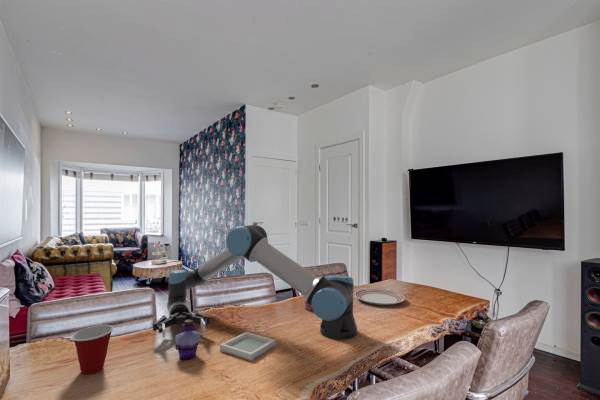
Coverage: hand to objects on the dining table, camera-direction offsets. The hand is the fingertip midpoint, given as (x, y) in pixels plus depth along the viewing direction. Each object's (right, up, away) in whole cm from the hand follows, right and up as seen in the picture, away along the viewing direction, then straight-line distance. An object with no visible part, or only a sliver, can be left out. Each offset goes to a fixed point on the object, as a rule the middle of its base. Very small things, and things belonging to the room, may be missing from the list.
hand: (184, 330), depth 114 cm
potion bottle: (+3, -6, -6) cm, 9 cm away
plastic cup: (-23, -6, -16) cm, 28 cm away
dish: (+23, -7, +1) cm, 24 cm away
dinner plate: (+86, -10, +66) cm, 108 cm away
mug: (+47, -9, +49) cm, 69 cm away
